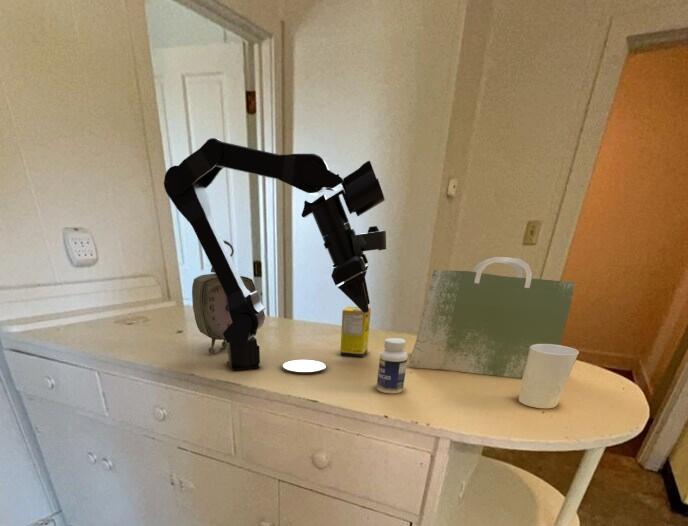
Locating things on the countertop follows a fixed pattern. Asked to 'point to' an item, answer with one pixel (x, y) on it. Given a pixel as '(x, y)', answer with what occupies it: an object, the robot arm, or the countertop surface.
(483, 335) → the grocery bag
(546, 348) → the white cup
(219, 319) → the tabletop clock
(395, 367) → the pill bottle
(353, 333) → the supplement box
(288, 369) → the white disc
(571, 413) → the countertop surface
